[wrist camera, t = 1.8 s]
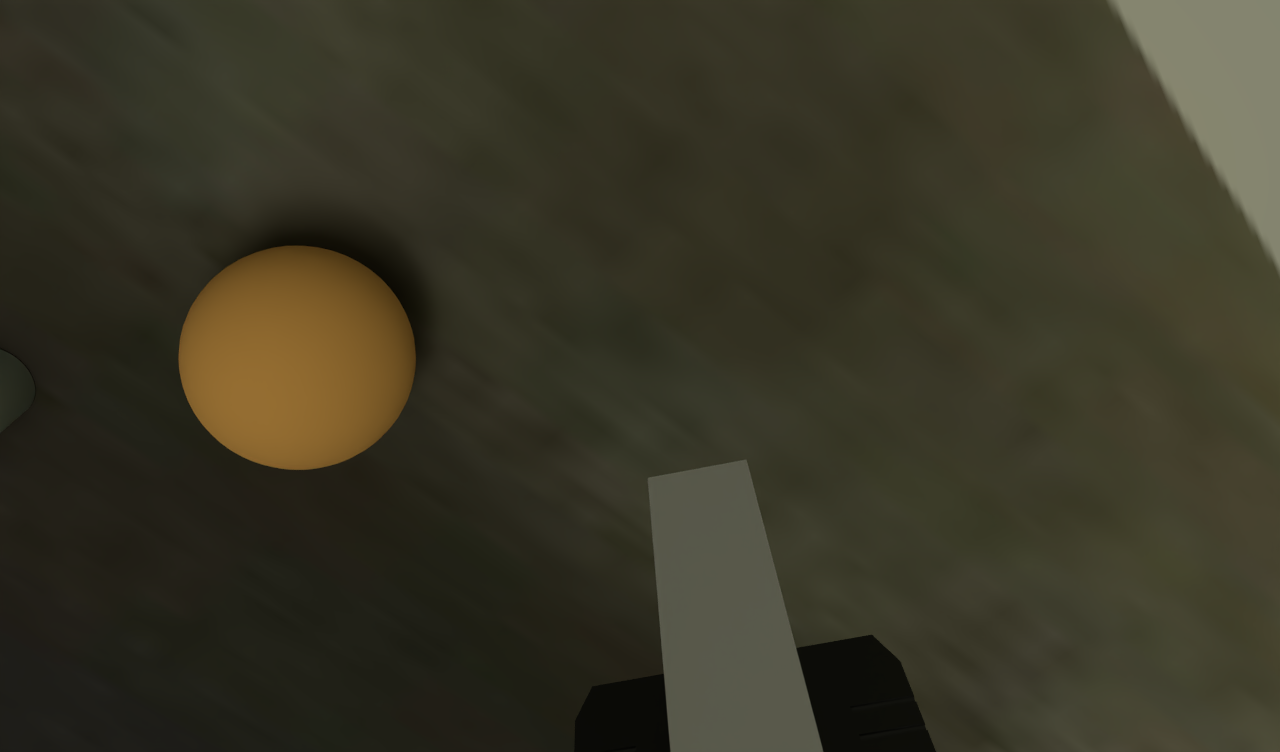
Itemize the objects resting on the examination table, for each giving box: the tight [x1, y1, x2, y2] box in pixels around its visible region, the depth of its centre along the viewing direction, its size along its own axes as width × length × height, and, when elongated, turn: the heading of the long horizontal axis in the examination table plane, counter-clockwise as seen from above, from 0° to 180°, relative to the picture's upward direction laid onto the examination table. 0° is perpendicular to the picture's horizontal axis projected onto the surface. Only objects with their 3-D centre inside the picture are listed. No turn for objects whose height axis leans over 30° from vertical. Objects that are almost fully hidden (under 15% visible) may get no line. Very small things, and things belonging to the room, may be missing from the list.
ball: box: [179, 246, 416, 470], centre depth 27 cm, size 6×6×6 cm
